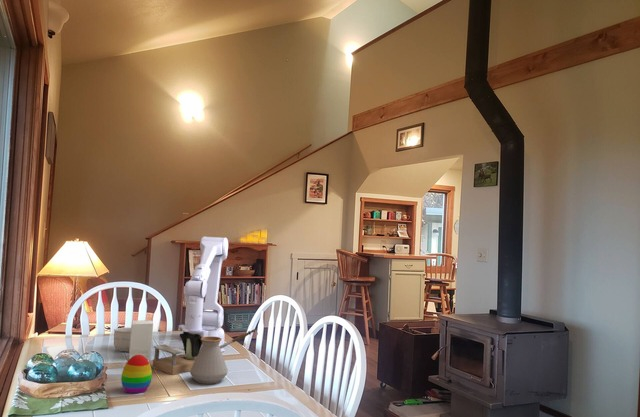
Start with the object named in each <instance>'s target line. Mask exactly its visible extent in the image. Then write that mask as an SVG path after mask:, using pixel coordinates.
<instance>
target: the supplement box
mask: <svg viewBox="0 0 640 417" xmlns="http://www.w3.org/2000/svg"><path fill="white" fill-rule="evenodd" d="M130 328H131V336H130V349H129V351H128V360H129V359H130V358H132V357H133V356H135V355H142V356H144V357H145V358H146V359H147V360H148V361H149V360H151V359H152V358H151V357H152V345H153V344H152V343H153V333H154V332H153V331H154V321H153V320H152V319H151V320H150V319H149V320H148V319H147V320H131V326H130Z"/></svg>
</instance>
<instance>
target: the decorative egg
mask: <svg viewBox="0 0 640 417" xmlns="http://www.w3.org/2000/svg"><path fill="white" fill-rule="evenodd" d="M151 366H152V365H151V364H150V361H149V360H147V359H146V358H145V357H144V356H142V355H135V356H133V357H132V358H130V359H129V358H128V360H127V362H126V363H125V364H124V367H123V368H122V372H121V378H120V380H121V381H120V382H121V387H122V388H123V391H125V392H126V393H129V394H140V393H143V392H145V391H146V390H147V389H148V388H149V386H150V385H151V383H152V379H153V372H152V367H151Z"/></svg>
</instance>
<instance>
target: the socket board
mask: <svg viewBox="0 0 640 417" xmlns="http://www.w3.org/2000/svg"><path fill="white" fill-rule="evenodd" d="M153 348H154V359H152V365H151V366H152V367H151V368H153V369H156V370H159V371H161V372H164V373H166V374H169V375H171V376H176V375H180V374H185V373H190V370H191V368H192V366H193V364H194V362H195V360H196V359H194V360H187V359H186V355H185V351H184V350H183V349H180V348H177V347H174V346H171V345H168V344H158V345H154V346H153ZM160 351H162V352H165V353H168V354H171V356H165V357H160ZM196 358H197V356H196Z"/></svg>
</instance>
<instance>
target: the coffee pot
mask: <svg viewBox="0 0 640 417" xmlns="http://www.w3.org/2000/svg"><path fill="white" fill-rule="evenodd" d="M253 333H255V334H254V335H256V336H258V335H259V334H258V331H257V329H256V328H255V329H252V330H248V331H247V332H245V333H242V334H240V335H239V336H237V337H235V338H233V339H231V340H230V341H228V342H224V344H223V345H221V346H219V343H220V341H221V340H222V339H221V338H220V337H202V338H201V341H202V347H201V349H200V351H199V354H198V356H197V358H196V360H195V362H194V364H193V366H192V368H191V370H190V372H189V373H190V376H191V377H192V378H193V379H194V380H195V381H196V383H199V384H203V385H204V384H207V385H209V384H210V385H212V384H218V383H220V382H221V381H222V380H223V379H224V378H225V377H226V376H227V375H228V371H229V370H228V367H227V364H226V361H225V358H224V355H223V352H221V348H223V347H224V348H225V347H227V346H228V345H231V344H233V343H235V342H238V341H240V340H242V339H244V338H246V337H247V336H250V335H252V334H253Z"/></svg>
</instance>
